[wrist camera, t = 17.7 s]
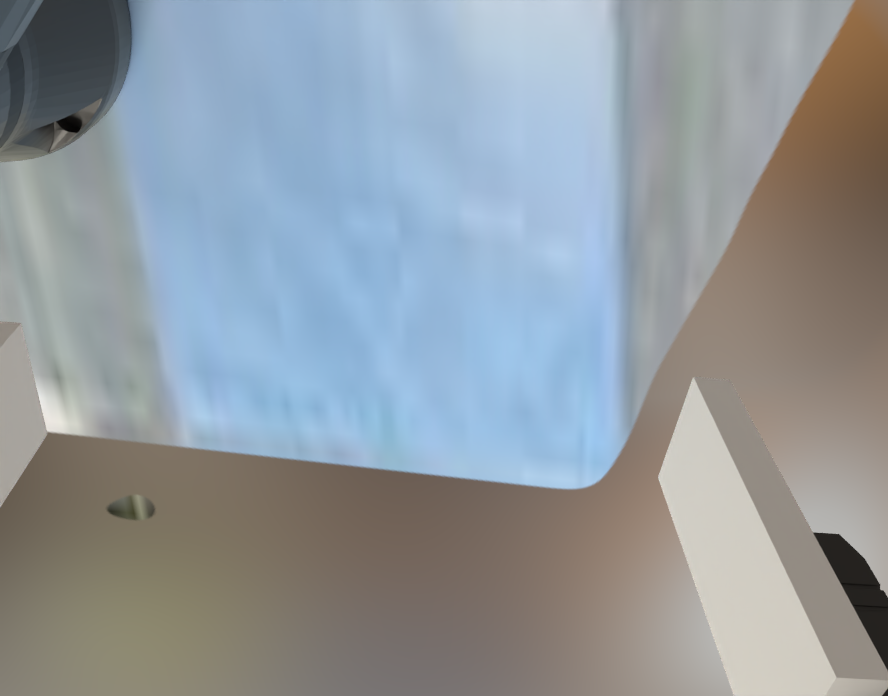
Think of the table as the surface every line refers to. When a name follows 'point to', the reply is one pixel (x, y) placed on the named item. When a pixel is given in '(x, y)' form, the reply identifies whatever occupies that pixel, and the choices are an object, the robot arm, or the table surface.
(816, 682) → the robot arm
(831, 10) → the table surface
